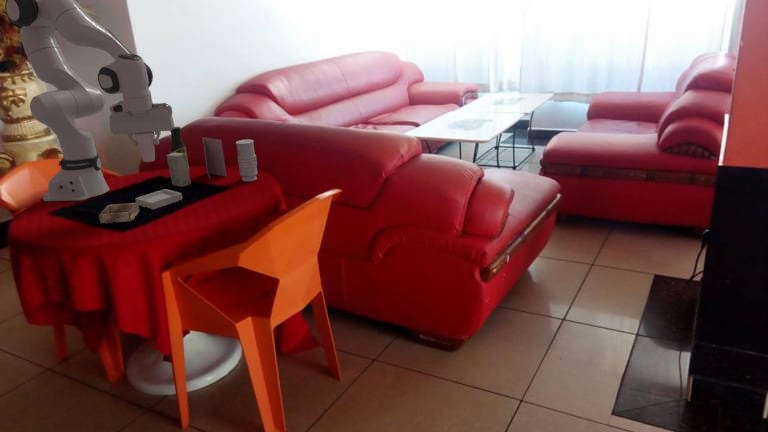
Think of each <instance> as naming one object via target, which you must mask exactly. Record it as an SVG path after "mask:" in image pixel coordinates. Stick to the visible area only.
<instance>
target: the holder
mask: <svg viewBox="0 0 768 432" xmlns="http://www.w3.org/2000/svg"><path fill="white" fill-rule="evenodd" d="M139 206H140V205H138V203H136V202H131V203H130V202H129V203H118V204H116V203H115V204H107V206H105V207H104V209H102V211H101V212H100V213H99V214H98V219H99V223H100V225H102V223H105V224H113V222H116V223H123V222H125V223H126V222H127V221H128V222H133V221H134V220H135V218H136V217H137V215H138V214H139V213H138V212H140V207H139ZM135 216H136V217H135ZM132 220H133V221H132Z"/></svg>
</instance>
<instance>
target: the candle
mask: <svg viewBox="0 0 768 432" xmlns="http://www.w3.org/2000/svg"><path fill="white" fill-rule="evenodd" d="M254 142H255V141H254V140H253V139H241V140H237V141H235V144H236V148H237V149H236V150H237V162H238V167H239V175H240V176H241V177H242V179H241V181H242V180H243V181H242V182H253V181H256V180H257V179H258V177H257V175H258V173H259V172H258V168H257V166H258V162H257V154H255V146H254Z"/></svg>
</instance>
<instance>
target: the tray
mask: <svg viewBox="0 0 768 432" xmlns="http://www.w3.org/2000/svg"><path fill="white" fill-rule="evenodd" d="M182 199H184V198H183V194H182V192H178V191H175V190H172V189H171V190H170V189H166V188H164V189H161V190H158V191H157V190H156V191H154V192H151V193H147V194H145V195H141V196H139V197H135V203H138V205H139V206H140V207H144V208H146V207H147V208H146V209H149V208H150V210H156V209H158V208H159V209H160V208H162V207H164V206H167V205H170V204H173V202H174V203H177V202H180V201H182ZM179 200H180V201H179Z"/></svg>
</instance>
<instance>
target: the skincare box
mask: <svg viewBox="0 0 768 432" xmlns="http://www.w3.org/2000/svg"><path fill="white" fill-rule="evenodd" d="M166 159H167V164H168V169H169V175H170V179H171V183H172V186H176V187H183V188H184V187H186V186H189V185H192V181H191V177H190V169H189V170H188V165H189V163H188V164H187V159H186V154H184V153H172V154H171V153H169V154H166Z"/></svg>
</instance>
